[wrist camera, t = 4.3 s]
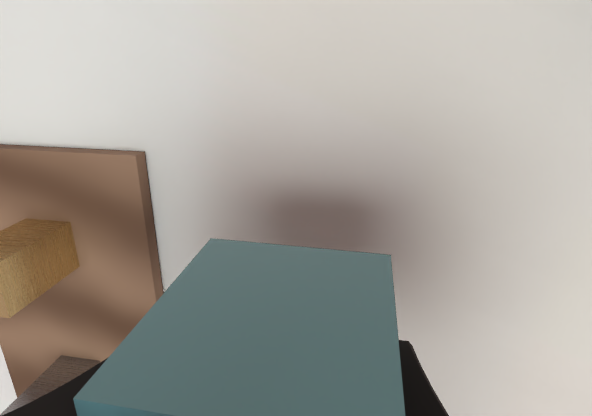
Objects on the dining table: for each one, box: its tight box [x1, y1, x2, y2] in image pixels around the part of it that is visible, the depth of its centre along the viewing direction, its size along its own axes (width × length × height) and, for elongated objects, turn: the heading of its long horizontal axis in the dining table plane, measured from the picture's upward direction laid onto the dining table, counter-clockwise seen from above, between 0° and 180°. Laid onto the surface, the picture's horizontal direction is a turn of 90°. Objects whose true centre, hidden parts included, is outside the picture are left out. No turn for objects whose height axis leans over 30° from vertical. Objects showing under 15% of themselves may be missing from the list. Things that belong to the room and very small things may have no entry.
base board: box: [0, 144, 163, 398], centre depth 23 cm, size 19×11×1 cm, turn 0°
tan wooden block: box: [0, 218, 80, 318], centre depth 19 cm, size 3×3×5 cm
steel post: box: [0, 355, 100, 416], centre depth 23 cm, size 3×3×5 cm
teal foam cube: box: [73, 238, 405, 416], centre depth 10 cm, size 5×5×6 cm
